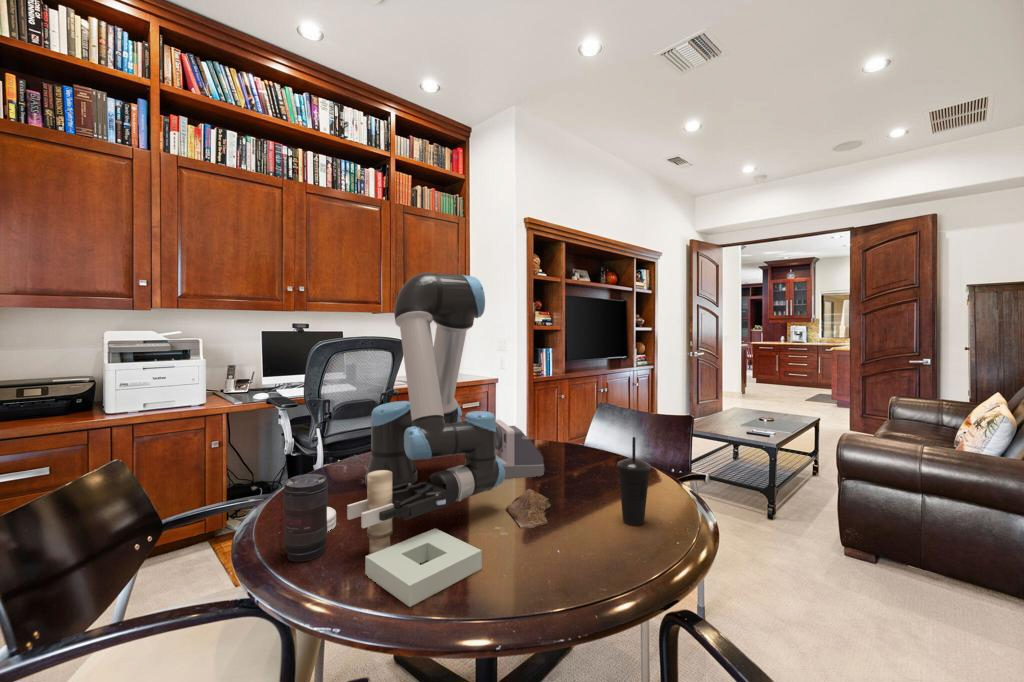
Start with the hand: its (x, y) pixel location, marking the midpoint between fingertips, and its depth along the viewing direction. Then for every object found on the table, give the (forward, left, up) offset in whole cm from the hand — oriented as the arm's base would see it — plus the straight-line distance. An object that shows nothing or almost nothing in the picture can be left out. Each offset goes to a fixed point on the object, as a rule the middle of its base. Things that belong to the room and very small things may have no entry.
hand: (355, 516), depth 85 cm
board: (+12, +7, -9) cm, 17 cm away
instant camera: (-19, +65, -10) cm, 68 cm away
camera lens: (-11, -5, -9) cm, 15 cm away
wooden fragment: (+6, +44, -10) cm, 46 cm away
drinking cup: (+30, +54, -9) cm, 63 cm away
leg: (0, +5, -9) cm, 10 cm away
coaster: (-22, +1, -10) cm, 24 cm away
